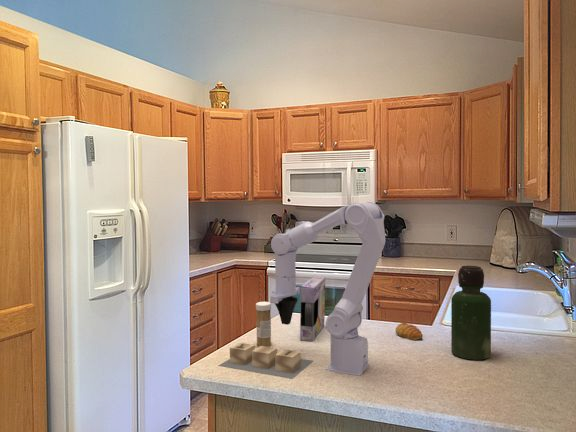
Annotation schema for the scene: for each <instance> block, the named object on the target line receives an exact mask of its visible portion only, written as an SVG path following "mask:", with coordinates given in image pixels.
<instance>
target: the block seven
mask: <svg viewBox="0 0 576 432" xmlns="http://www.w3.org/2000/svg"><path fill="white" fill-rule="evenodd" d="M255 349H256V345H255V344H250V343H244V342H238V343H236V344H234V345H232V346H230V347H229V359H230V362H231V363H237V364H243V365H246V364H248V363H250V362H251V361H252V351H253V350H255Z"/></svg>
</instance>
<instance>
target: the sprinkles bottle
mask: <svg viewBox="0 0 576 432" xmlns="http://www.w3.org/2000/svg"><path fill="white" fill-rule="evenodd" d="M271 304H272V303H271V301H270V302H269V301H258V302H256V303H255V311H256V347H257V348H258V347H260V346H266V347H272V337H271V336H272V325H271V324H272V320H271V311H272V305H271Z"/></svg>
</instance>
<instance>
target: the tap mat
mask: <svg viewBox="0 0 576 432" xmlns="http://www.w3.org/2000/svg"><path fill="white" fill-rule="evenodd" d="M314 362H315V360H311V359H305V358H301V367H300V368H299V369H297V370H296V371H295V372H294V373H290V372H284V371H278V370H275V365H274V366H272V367H271V368H269V369H266V368H260V367H255V366H252V361H251V362H250V363H248V364H246V365H243V364H237V363H231V362H230V358H229V359H227V360H225V361H224V362H222V363H220V364H218V365H217V366H218V367H223V368H227V369H234V370H240V371H246V372H251V373H256V374H263V375H266V376H267V375H268V376H273V377H279V378H285V379H289V380H290V379H291V380H293V379H294V378H295V377H297V376H298V375H299V374H301V372H302V371H304V370H305V369H306V368H308V367H309V366H310V365H312V364H313V363H314Z"/></svg>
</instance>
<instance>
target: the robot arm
mask: <svg viewBox="0 0 576 432" xmlns="http://www.w3.org/2000/svg"><path fill="white" fill-rule="evenodd" d="M384 221H385V215H384V213H383V211H382V209H381V208H380V206H379V205H378V204H376V203H375V202H373V201H367V202H358V201H357V202H353V203H350V204H349V205H344V206H342V207H340V208H339V209H337V210H335V211H332V212H330V213H329V214H327V215H325V216H324V217H322V218H320V219H318V220H316V221H314V222H311V221H308V220H307V221H304V220H303V221H300V222H298V225H297V226H294V227H293V228H286V230H285V232H284V233H276V234H275V235H274V236H273V237H272V238H271V242H270V247H271V250H272V252H273V253H274V264H275V265H274V267H275V268H274V269H275V270H274V271H275V272H274V273H275V274H274V275H275V289H273V290H271V293H272V295H270V303H271V304H274V305H275V307H276V308H277V311H278V314H279V317H280V322H281V324H282V325H290V324H291V322H292V318H293V317H292V316H293V313H294V310H295V306H296V304H297V303H298V300H299V299H298V297H295V296H296V295H301V286H300V287H299V286H297V285H296V282H297V280H296V279H297V278H296V277H297V276H296V273H297V272H296V257H297V252H298V250H299V249H301V248H303V247H305V246H307V245H308V244H309V245H310V244H311V243H314V242H315V241H317V240H318V238H319V235H320V234H321V233H324V232H325V231H326V232H327V231H328V230H331V229H333V228H336V227H337V226H340V225H344V226H346V225H348V226H349V227H350V228H352V230H353V231H354V232H355V233H356V234H357V235H358V237H359V239H360V240H361V247H360V250H359V252H358V255H357V257H356V259H355V263H354V265H353V268H352V271H351V273H350V275H349V278H348V281H347V284H346V286H345V289H344V290H343V294H342V296H341V298H340V300H339V301H338V302H337V304H336V305H335V306H334V309H333V310H332V312H331V313H330V314H329V315H328V316H327V317H326V320H325V327H326V330H327V332H328V333H329V335H330V364H329V365H327V366H326V367H325V369H324V370H326V371H330V372H335V373H342V374H348V375H354V376H362V374H364V372H365V371H366V369H368V368H369V342H368V339H367V337H365V336H362V335H360V334H359V331H358V329H359V327H360V326H361V324H362V321H363V316H362V313H363V310H364V306H363V304H362V303H363V301H364V298H365V296H366V293H367V291H368V288H369V285H370V283H371V281H372V278H373V275H374V274H375V273H374V272H375V270H376V268H377V266H378V262H379V260H380V258H381V255H382V252H383V250H384V248H385V245H386V234H385V233H386V232H385V224H384ZM293 296H294V297H293Z"/></svg>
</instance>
